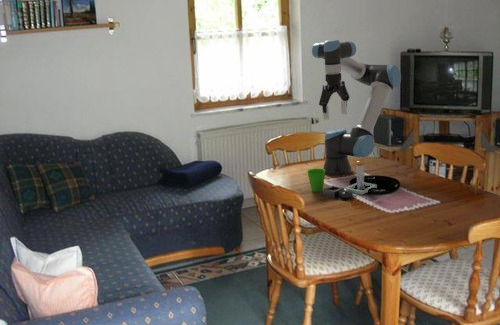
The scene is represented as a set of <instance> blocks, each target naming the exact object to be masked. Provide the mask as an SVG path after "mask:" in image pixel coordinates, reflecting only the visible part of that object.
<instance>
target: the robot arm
mask: <svg viewBox="0 0 500 325" xmlns="http://www.w3.org/2000/svg"><path fill="white" fill-rule="evenodd" d="M311 53H312V54H311V55H312V56H313V57H314V58H315V59H322V60H324V70H325V71H324V73H325V75H324V76H325V78H324V79H325V82H326V84H323V85H322V90H321V94H320V99H319V102H318V105H319V106H320V107H322V115H323V120H327V121H328V120H330V115H329V113H330V112H329V105H328V104H329V103H330V102H329V101H330V100H331V97H332V95H333V94H335V93H337V94H338V96H339V98H340V99H341V101H340V104H341V105H340V110H341V112H340V113H341V115H347V114H348V112H347V111H348V110H347V108H348V105H347V104H348V101H349V99H350V95H349V92H348V90H347V87H346V83H345V81H344V80H342V71H343V72H345V73H347V74H349V75H350V77H351V79H354V80H355V81H357V82H359V83H361V84H363V85H365V86H367V87H371V91H370V92H369V95H368V97H367V100H366V102H365V104H364V107H363V109H362V111H361V114H360V116H359V119H358V121H357V124H356V126H353V127H352V129H351V131H350V132H347V129H345V128H337V129H332V130H328V131H326V132H325V133H324V139H323V140H324V152H325V160H324V165H323V168H322V169H325V170H326V171H325V175H326V176H330V177H342V176H343V177H344V176H347V175H350V174H351V173H352V172H353V171H352V170H353V168H352V166H351V163H350V161H349V157H356V158H367V157H369V156H371V154H372V153H373V151H374V149H375V142H376V140H375V138H374V134H373V131H374V127H375V125H376V123H377V121H378V119H379V116H380V114H381V112H382V108H383V106H384V104H385V101H386V99H387V96H388V95H390V94H391V93H392V92H393V90H394V89H395V88H398V87H400V85H401V81H402V74H401V70H400V68H399V67H398V66H397V65H396V64H395V65H394V64H366V63H364V62H362V61H357V60H355V59H354V58H352V57H354V56H355V54H356V53H357V46H356V44H355V43H354V42H353V41H345V42H344V41H341V42H340V40H339V39H331V40H328V39H327V40H325V41H324V42H316V43H314V44H313V46H312V47H311Z"/></svg>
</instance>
